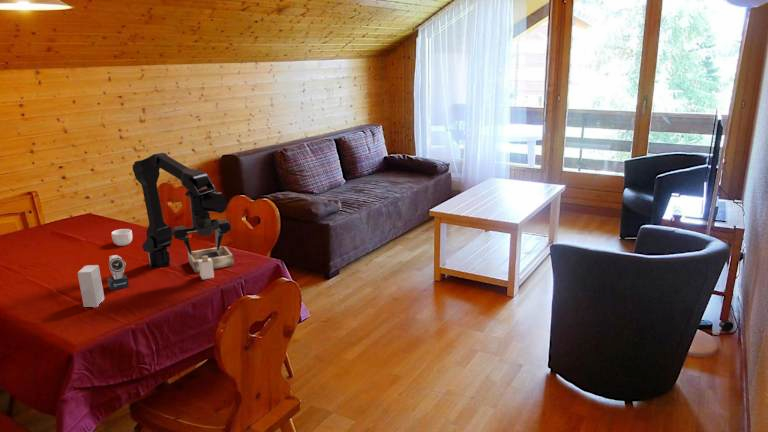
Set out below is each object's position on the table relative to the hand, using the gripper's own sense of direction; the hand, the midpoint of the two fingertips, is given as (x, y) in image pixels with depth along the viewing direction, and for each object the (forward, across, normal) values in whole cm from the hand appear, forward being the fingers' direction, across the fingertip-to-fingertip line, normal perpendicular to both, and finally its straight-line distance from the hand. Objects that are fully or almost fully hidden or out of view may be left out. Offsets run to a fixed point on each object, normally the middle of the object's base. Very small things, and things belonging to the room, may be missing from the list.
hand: (204, 252), depth 196 cm
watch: (+9, -28, +6) cm, 30 cm away
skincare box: (+9, -36, -5) cm, 37 cm away
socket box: (+9, +4, +12) cm, 16 cm away
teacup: (+10, -23, +55) cm, 60 cm away
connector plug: (+9, 0, 0) cm, 9 cm away
